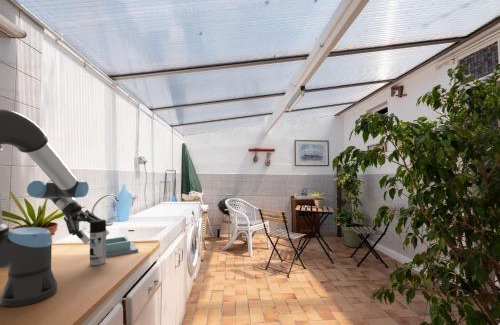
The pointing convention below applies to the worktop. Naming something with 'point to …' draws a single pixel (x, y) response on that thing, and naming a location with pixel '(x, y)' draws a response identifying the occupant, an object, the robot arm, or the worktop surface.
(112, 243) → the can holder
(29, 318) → the worktop surface
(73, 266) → the worktop surface
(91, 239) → the spray can
